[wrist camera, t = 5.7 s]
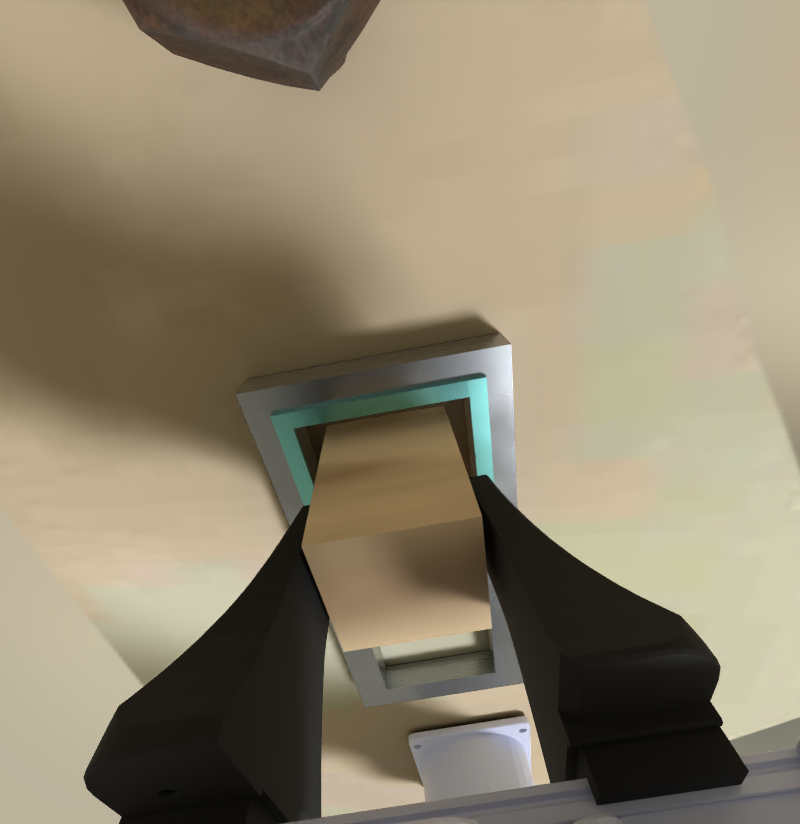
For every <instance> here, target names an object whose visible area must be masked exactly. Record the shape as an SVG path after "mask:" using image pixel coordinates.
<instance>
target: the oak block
mask: <svg viewBox="0 0 800 824" xmlns="http://www.w3.org/2000/svg"><path fill="white" fill-rule="evenodd" d="M301 547H302V549H303V552H304V554H305V557H306V559H307V562H308V564H309V567H310V569H311V572H312V574H313V577H314V579H315V582H316V584H317V587H318V589H319V592H320V594H321V597H322V599H323V602H324V604H325V607H326V609H327V612H328V614H329V617H330V619H331V622H332V624H333V627H334V629H335V632H336V634H337V637H338V639H339V642H340V644H341V647H342V649H343V652H347V651H353V650H359V649H366V648H372V647H378V646H385V645H391V644H397V643H404V642H410V641H416V640H422V639H429V638H435V637H441V636H448V635H454V634H460V633H467V632H473V631H479V630H486V629H492V622H491V611H490V600H489V588H488V577H487V566H486V555H485V543H484V532H483V521H482V515H481V512H480V509H479V506H478V503H477V500H476V497H475V494H474V491H473V488H472V485H471V482H470V480H469V477H468V474H467V471H466V468H465V465H464V462H463V459H462V456H461V453H460V450H459V447H458V445H457V442H456V439H455V436H454V433H453V430H452V427H451V424H450V421H449V418H448V415H447V412H446V410H445V407H444V405H443V406H437V407H432V408H426V409H420V410H414V411H409V412H403V413H397V414H391V415H386V416H380V417H374V418H369V419H363V420H357V421H351V422H346V423H340V424H334V425H328V426H327V427H326V432H325V436H324V441H323V446H322V451H321V455H320V460H319V465H318V470H317V475H316V479H315V484H314V489H313V494H312V498H311V503H310V508H309V513H308V517H307V522H306V527H305V532H304V536H303V541H302V546H301Z"/></svg>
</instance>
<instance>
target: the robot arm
mask: <svg viewBox="0 0 800 824" xmlns="http://www.w3.org/2000/svg"><path fill="white" fill-rule="evenodd" d="M469 480H470V482H471V485H472V488H473V491H474V494H475V497H476V500H477V503H478V506H479V509H480V512H481V515H482V521H483V532H484V543H485V555H486V566H487V572H488V575H489V577H490V580H491V582H492V585H493V588H494V590H495V593H496V595H497V598H498V601H499V603H500V606H501V608H502V611H503V614H504V616H505V619H506V622H507V625H508V628H509V632H510V635H511V639H512V642H513V646H514V649H515V653H516V656H517V660H518V663H519V667H520V671H521V674H522V678H523V681H524V685H525V689H526V692H527V696H528V700H529V703H530V707H531V711H532V715H533V718H534V722H535V726H536V730H537V733H538V737H539V741H540V745H541V749H542V752H543V756H544V760H545V764H546V768H547V772H548V776H549V779H550V784H543V785H537V786H535V785H534V781H533V778H532V774H531V743H530V723H529V720H528V718H527V717H524V716H520V717H514V718H507V719H501V720H494V721H488V722H481V723H475V724H469V725H462V726H456V727H449V728H443V729H436V730H430V731H423V732H417V733H412V734H410V735H409V738H408V739H409V746H410V749H411V751H412V754H413V757H414V760H415V763H416V766H417V769H418V772H419V775H420V778H421V781H422V784H423V787H424V792H425V802H423V803H416V804H409V805H402V806H396V807H389V808H382V809H376V810H369V811H362V812H355V813H349V814H342V815H335V816H329V817H322V818H321V738H322V701H323V677H324V657H325V648H326V640H327V633H328V626H329V619H330V617H329V614H328V612H327V609H326V607H325V604H324V602H323V599H322V597H321V594H320V592H319V589H318V587H317V584H316V582H315V579H314V577H313V574H312V572H311V569H310V567H309V564H308V562H307V559H306V557H305V554H304V552H303V549H302V547H301V546H302V541H303V536H304V532H305V527H306V522H307V517H308V513H309V508H310V505H306V506H303V507H302V508H301V510H300V511H299V513H298V514H297V516H296V517H295V519H294V521H293V522H292V524H291V525H290V527H289V528H288V530H287V532H286V533H285V535H284V536H283V538H282V539H281V541H280V542H279V544H278V545H277V547H276V548H275V550H274V551H273V553H272V554H271V556H270V557H269V558H268V560H267V561H266V563H265V564H264V565H263V567H262V568H261V569H260V571H259V572H258V573H257V575H256V576H255V577H254V579H253V580H252V581H251V583H250V584H249V585H248V586H247V588H246V589H245V590H244V591H243V593H242V594H241V595H240V596H239V597H238V598H237V600H236V601H235V602H234V603H233V604H232V605H231V606H230V608H229V609H228V610H227V611H226V612H225V613H224V614H223V615H222V616H221V617H220V618H219V619H218V620H217V621H216V622H215V623H214V624H213V625H212V626H211V627H210V628H209V629H208V630H207V631H206V632H205V633H204V634H203V635H202V636H201V637H200V638H199V639H198V640H197V641H196V642H195V643H194V644H193V645H192V646H191V647H190V648H189V649H187V650H186V651H185V652H184V653H183V654H182V655H181V656H180V657H179V658H177V659H176V660H175V661H174V662H173V663H172V664H171V665H169V666H168V667H167V668H166V669H165V670H164V671H162V672H161V673H160V674H159V675H158V676H156V677H155V678H154V679H153V680H151V681H150V682H149V683H148V684H146V685H145V686H144V687H143V688H141V689H140V690H139V691H138V692H136V693H135V694H134V695H133V696H131V697H130V698H129V699H128V700H126V701H125V702H123V703H122V704H121V705H119V707H118V708H117V710H116V712H115V714H114V716H113V718H112V720H111V721H110V724H109V725H108V727H107V729H106V731H105V733H104V735H103V737H102V739H101V741H100V743H99V745H98V747H97V749H96V751H95V753H94V756H93V757H92V759H91V761H90V763H89V765H88V767H87V769H86V772H85V775H84V781H85V784H86V787H87V789H88V790H89V791H90V792H91V793H92V794H93V795H94V796H95V797H96V798H97V799H99V800H100V801H101V802H103V803H104V804H105V805H107V806H108V807H109V808H111V809H112V810H114V811H115V812H116V813H117V814H119V815H120V816H121V820H120V822H119V824H800V737H799V738H798V741H797V744H796V747H792V748H785V749H778V750H772V751H765V752H758V753H752V754H746V755H738V753H737V752H736V750H735V749H734V747H733V746H732V744H731V743H730V741H729V740H728V738H727V737H726V735H725V734H724V732H723V731H722V729H721V728H720V726H722V724H723V721H722V718H721V717H720V715H719V714H718V712H717V711H716V709H715V708H714V706H713V705H712V703H711V702H710V700H711V698H712V695H713V693H714V690H715V688H716V685H717V683H718V680H719V674H720V668H721V667H720V665H719V662H718V660H717V659H716V657H715V656H714V655H713V653H712V652H711V651H710V649H709V648H708V646H707V645H706V644H705V643H704V641H703V640H702V639H701V638H700V637H699V636H698V634H697V633H696V632H695V631H694V630H693V629H692V628H691V627H690V626H689V624H688V623H687V622H686V621H685V620H684V619H683V618H682V617H681V616H680V615H678V614H676V613H674V612H671V611H669V610H667V609H665V608H663V607H661V606H659V605H657V604H655V603H652V602H650V601H648V600H646V599H644V598H642V597H640V596H638V595H636V594H634V593H632V592H631V591H629V590H627V589H625V588H623V587H621V586H620V585H618V584H616V583H614V582H613V581H611V580H609V579H608V578H606V577H605V576H603V575H601V574H600V573H598V572H597V571H595V570H593V569H592V568H590V567H588V566H587V565H585V564H584V563H582V562H581V561H580V560H578V559H577V558H575V557H574V556H572V555H571V554H570V553H568V552H567V551H566V550H564V549H563V548H562V547H560V546H559V545H558V544H556V543H555V542H554V541H553V540H551V539H550V538H549V537H548V536H547V535H545V534H544V533H543V532H542V531H541V530H540V529H538V528H537V527H536V526H535V525H534V524H533V523H532V522H531V521H530V520H528V519H527V518H526V517H525V516H524V515H523V514H522V513H521V512H520V511H519V510H518V509H517V508H516V507H515V506H514V505H513V504H512V503H511V502H510V501H509V500H508V499H507V497H506V496H505V495H504V494H503V493H502V492H501V491H500V490H499V489H498V487H497V486H496V485H495V484H494V482H493V481H492V480H491V479H490V477H489V476H487V475H486V474H485V475H480V476H474V477H469Z"/></svg>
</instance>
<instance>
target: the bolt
mask: <svg viewBox="0 0 800 824" xmlns="http://www.w3.org/2000/svg"><path fill="white" fill-rule="evenodd" d="M123 2H124V3H125V5H126V7H127V9H128V10H129V12H130V14H131V15H132V17H133V19H134V20H135V22H136V24H137V26H138V27H139V29H140V30H141V31H143V32H144V33H145V34H147V35H148V36H150V37H151V38H152V39H154V40H155V41H156V42H158V43H159V44H161V45H162V46H163V47H165V48H166V49H167V50H169V51H170V52H171V53H173V54H175V55H178V56H181V57H184V58H187V59H191V60H194V61H197V62H200V63H203V64H206V65H209V66H212V67H215V68H218V69H222V70H226V71H229V72H233V73H236V74H240V75H244V76H247V77H251V78H255V79H259V80H264V81H268V82H272V83H277V84H281V85H285V86H291V87H298V88H304V89H310V90H317V91H320V89H321V88H322V87H323V85H324V84H325V83H326V82H327V80H328V79H329V78H330V77H331V76H332V75H333V74H334V73H335V72H336V71H337V70H338V69H340V68H341V66H342V65H343V64H344V62H345V59H346V55H347V53H348V51H349V50H350V48H351V47H352V45H353V44H354V42H355V41H356V39H357V38H358V36H359V35H360V33H361V32H362V30H363V29H364V27H365V25H366V24H367V22H368V20H369V19H370V17H371V15H372V14H373V12H374V10H375V9H376V7H377V5H378V4H379V2H380V0H123Z"/></svg>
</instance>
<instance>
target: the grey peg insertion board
mask: <svg viewBox="0 0 800 824" xmlns="http://www.w3.org/2000/svg"><path fill="white" fill-rule="evenodd" d="M235 395H236V397H237V399H238V402H239V404H240V407H241V409H242V411H243V414H244V416H245V419H246V421H247V424H248V426H249V428H250V431H251V433H252V436H253V438H254V440H255V443H256V445H257V448H258V450H259V452H260V455H261V457H262V460H263V462H264V465H265V467H266V469H267V472H268V474H269V477H270V479H271V481H272V484H273V486H274V489H275V491H276V494H277V496H278V498H279V501H280V503H281V506H282V508H283V510H284V513H285V515H286V518H287V520H288V522H289V525H291V524H292V522H293V521H294V519H295V517H296V516H297V514H298V513H299V511H300V510H301V508H302V507H303V506H306V505H310V503H311V498H312V494H313V489H314V484H315V479H316V475H317V470H318V465H319V464H318V461H317V458H316V455H315V452H314V449H313V446H312V443H311V440H310V437H309V434H308V431H307V428H306V426H310V425H316V424H321V423H327V422H333V421H338V420H344V419H349V418H355V417H360V416H366V415H372V414H377V413H383V412H388V411H394V410H400V409H405V408H411V407H416V406H422V405H427V404H433V403H439V402H444V401H450V400H455V399H461V398H463V399H464V408H465V418H466V427H467V437H468V446H469V456H470V465H471V475H472V477H474V476H480V475H485V474H486V475H487V476H489V477H490V479H491V480H492V481H493V482H494V484H495V485H496V486H497V487H498V489H499V490H500V491H501V492H502V493H503V494H504V495H505V496H506V497H507V499H508V500H509V501H510V502H511V503H512V504H513V505H514V506H515V507H516V508H517V487H516V460H515V433H514V406H513V379H512V352H511V343H510V342H509V341H508V340H507V339H506V338H505V337H504V336H503V335H502V334H501V333H497V334H492V335H486V336H481V337H475V338H470V339H464V340H459V341H453V342H448V343H443V344H437V345H432V346H426V347H421V348H415V349H410V350H404V351H399V352H393V353H388V354H383V355H377V356H372V357H366V358H361V359H355V360H350V361H344V362H339V363H333V364H328V365H323V366H317V367H312V368H306V369H301V370H295V371H290V372H284V373H279V374H273V375H268V376H263V377H257V378H252V379H246V380H245V382H244V383H243V384H242V386H241V387H240V389H239V390H238V391H237V393H236V394H235ZM487 577H488V588H489V600H490V611H491V622H492V629H488V637H489V646H490V650H489V651H482V652H476V653H470V654H463V655H457V656H451V657H445V658H438V659H432V660H426V661H420V662H413V663H407V664H401V665H395V666H388V667H386V665H385V662H384V659H383V656H382V653H381V650H380V647H379V646H378V647H372V648H366V649H359V650H353V651H347V652H343V649H342V647H341V644H340V642H339V639H338V637H337V634H336V632H335V629H334V627H333V624H332V622H331V619H329V621H330V624H331V626H332V629H333V631H334V634H335V636H336V638H337V641H338V643H339V646H340V648H341V650H342V653H343V655H344V658H345V660H346V662H347V665H348V667H349V670H350V672H351V675H352V677H353V679H354V682H355V684H356V687H357V689H358V691H359V694H360V696H361V699H362V701H363V704H364V706H365V708H368V707H375V706H381V705H387V704H394V703H400V702H407V701H413V700H419V699H426V698H432V697H438V696H445V695H451V694H458V693H464V692H470V691H477V690H483V689H489V688H496V687H502V686H509V685H515V684H521V683H524V681H523V678H522V674H521V671H520V667H519V663H518V660H517V656H516V653H515V649H514V646H513V642H512V639H511V635H510V632H509V628H508V625H507V622H506V619H505V616H504V614H503V611H502V608H501V606H500V603H499V601H498V598H497V595H496V593H495V590H494V588H493V585H492V582H491V580H490V577H489V575H488V572H487Z"/></svg>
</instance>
